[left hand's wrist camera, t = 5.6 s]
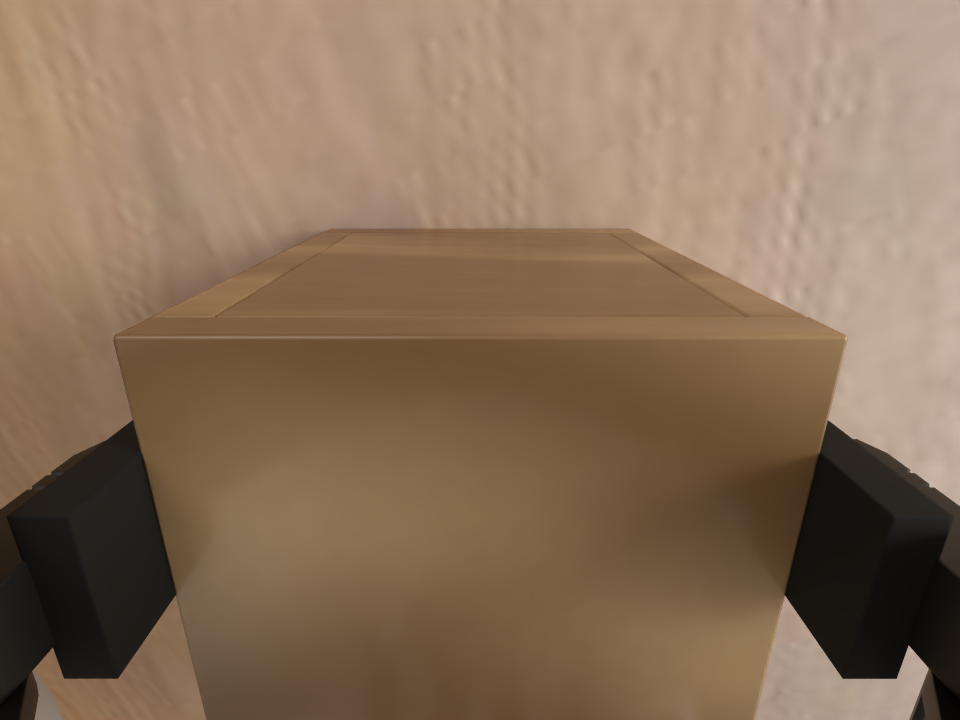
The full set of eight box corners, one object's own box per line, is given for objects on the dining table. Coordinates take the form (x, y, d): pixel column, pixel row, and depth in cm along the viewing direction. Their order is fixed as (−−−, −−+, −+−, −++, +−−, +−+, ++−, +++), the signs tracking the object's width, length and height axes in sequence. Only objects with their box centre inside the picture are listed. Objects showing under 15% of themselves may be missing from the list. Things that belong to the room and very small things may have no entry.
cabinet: (595, 606, 24) (691, 980, 13) (364, 606, 24) (269, 980, 13) (631, 228, 18) (851, 335, 8) (328, 228, 18) (109, 335, 8)
